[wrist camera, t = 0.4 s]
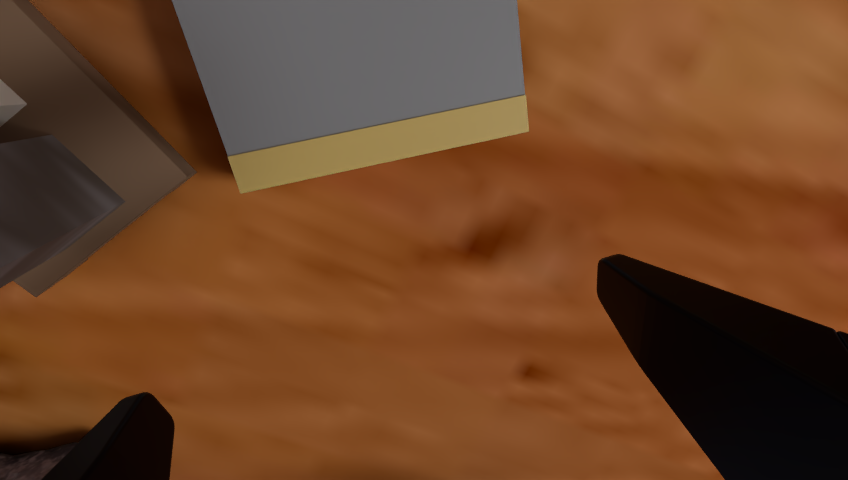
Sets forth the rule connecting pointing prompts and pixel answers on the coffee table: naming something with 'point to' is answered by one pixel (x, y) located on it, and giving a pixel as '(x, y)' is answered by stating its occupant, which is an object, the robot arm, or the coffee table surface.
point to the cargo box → (9, 103)
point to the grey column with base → (68, 156)
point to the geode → (31, 463)
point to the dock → (353, 80)
